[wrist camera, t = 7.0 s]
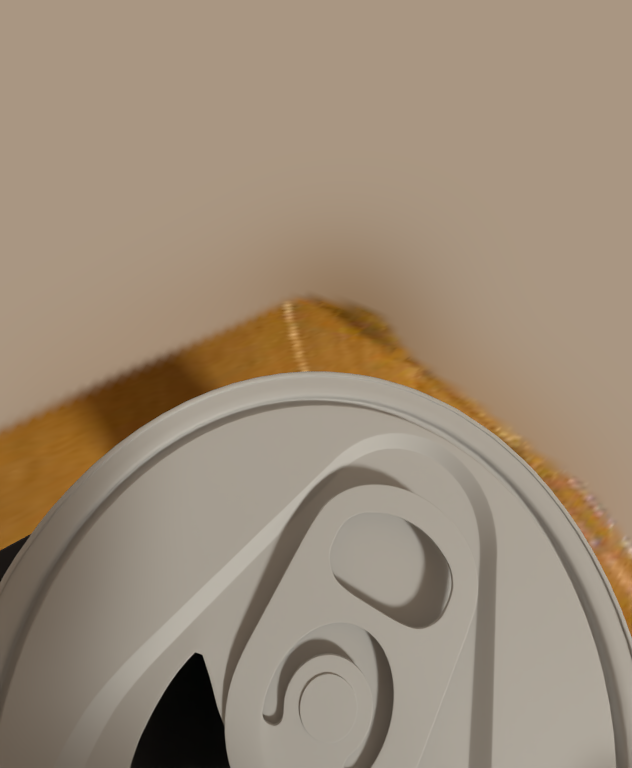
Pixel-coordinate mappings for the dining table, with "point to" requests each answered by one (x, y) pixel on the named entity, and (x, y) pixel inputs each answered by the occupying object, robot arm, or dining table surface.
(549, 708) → the beverage can
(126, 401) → the dining table surface
